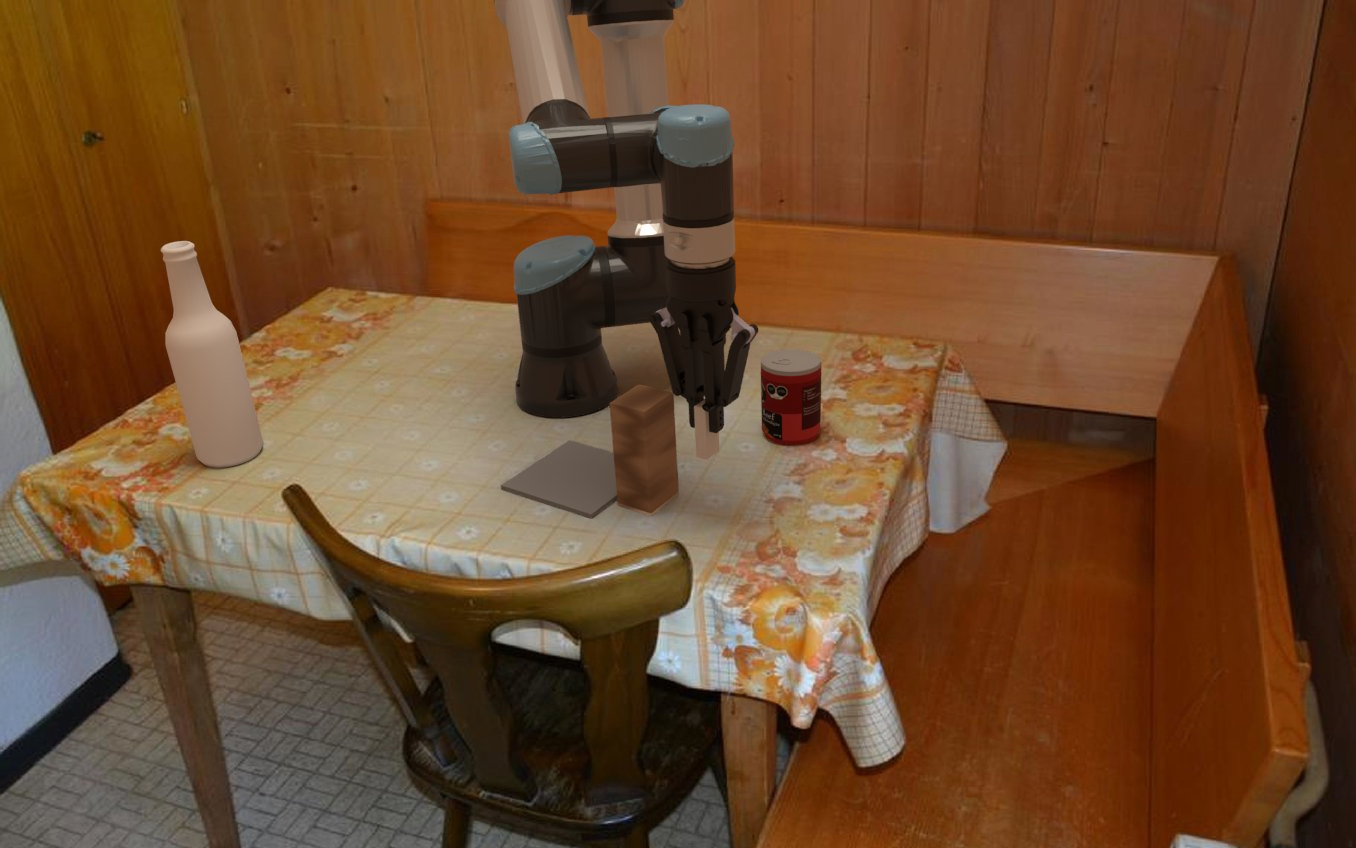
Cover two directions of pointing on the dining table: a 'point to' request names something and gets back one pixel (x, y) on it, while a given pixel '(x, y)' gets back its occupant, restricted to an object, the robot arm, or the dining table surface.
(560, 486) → the mat
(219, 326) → the alcohol
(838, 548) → the dining table surface
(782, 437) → the canned food
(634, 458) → the walnut block
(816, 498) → the dining table surface
